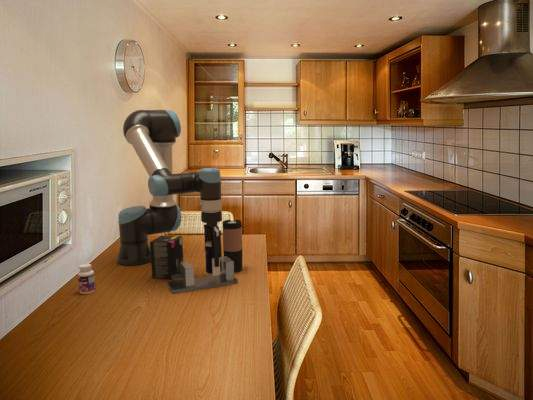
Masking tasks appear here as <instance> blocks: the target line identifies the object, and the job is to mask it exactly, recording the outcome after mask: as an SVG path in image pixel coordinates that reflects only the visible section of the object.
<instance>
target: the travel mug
mask: <svg viewBox="0 0 533 400" xmlns="http://www.w3.org/2000/svg"><path fill="white" fill-rule="evenodd" d="M242 228H243V226H242V220H239V219H236V220H231V219H226V220H222V250H223V251H222V252H223V253H222V255H223V257H224V256H227V257H228V258H230V259H231V260H232V261H234V274H235V273H241V272H242V271H243V232H242V230H243V229H242Z"/></svg>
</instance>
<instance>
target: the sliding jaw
mask: <svg viewBox="0 0 533 400" xmlns="http://www.w3.org/2000/svg"><path fill="white" fill-rule="evenodd" d="M180 271H181V273H175V274H171V275H172V279H171V280H181V281H182V282H183V284H184V285H185V286H186V287H191V286H194V278H195V269H194V266H193V265H192V264H191V262H189V261H187V260H186V261H183V262H180Z"/></svg>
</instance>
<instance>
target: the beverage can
mask: <svg viewBox="0 0 533 400" xmlns="http://www.w3.org/2000/svg"><path fill="white" fill-rule="evenodd" d="M204 250H205V252H204V254H205V272H206V273H207V275H208V276H209V275H213V272H212V259H211V257H213V254H212V246H211V241H206V244H205V243H204ZM221 271H222V270H221V257H220V272H221Z"/></svg>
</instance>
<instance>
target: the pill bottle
mask: <svg viewBox="0 0 533 400" xmlns="http://www.w3.org/2000/svg"><path fill="white" fill-rule="evenodd" d="M78 268H79V271H78V273H77V279H78V291H79V294H80V295H81V294H82V295H88V294H92V293H94V292H96V281H95V279H96V278H95V271H94V270H93V269H92V264H90V263H83V264H80V265H79V266H78Z"/></svg>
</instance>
